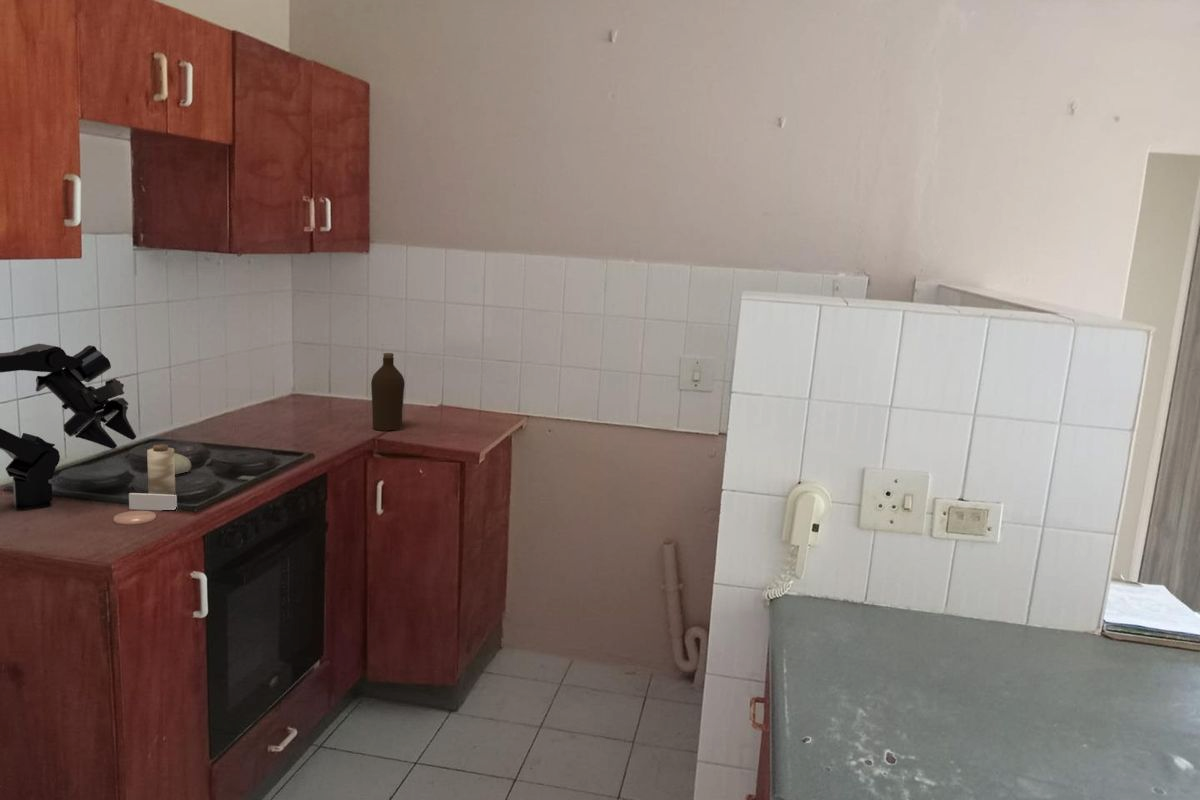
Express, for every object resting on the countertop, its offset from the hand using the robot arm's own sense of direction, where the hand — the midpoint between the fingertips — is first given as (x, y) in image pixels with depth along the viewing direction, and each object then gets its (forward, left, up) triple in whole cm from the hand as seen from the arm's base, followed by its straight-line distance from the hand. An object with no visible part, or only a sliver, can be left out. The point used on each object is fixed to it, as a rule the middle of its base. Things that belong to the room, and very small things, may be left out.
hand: (125, 442), depth 199 cm
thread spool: (+6, -5, -13) cm, 15 cm away
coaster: (-2, -15, -13) cm, 20 cm away
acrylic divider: (+3, -11, -13) cm, 17 cm away
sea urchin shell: (+14, +19, -14) cm, 27 cm away
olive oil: (+87, +44, -13) cm, 99 cm away
